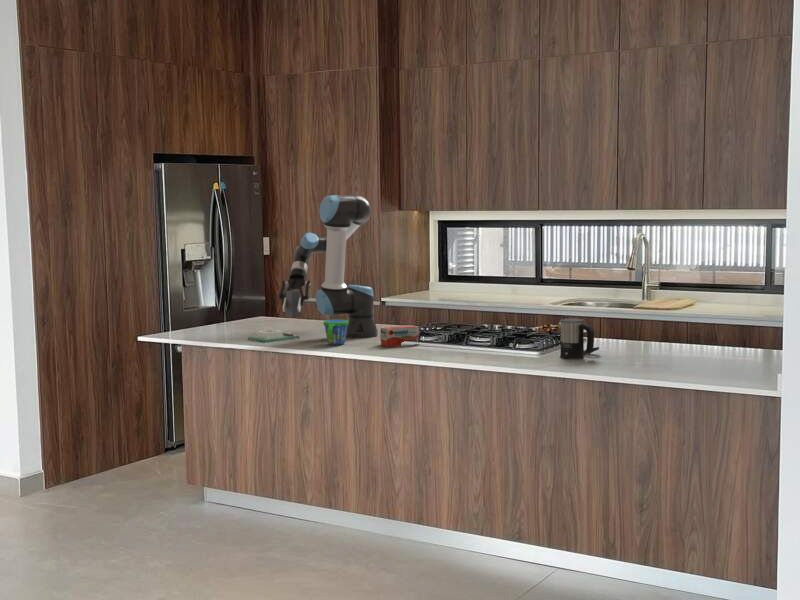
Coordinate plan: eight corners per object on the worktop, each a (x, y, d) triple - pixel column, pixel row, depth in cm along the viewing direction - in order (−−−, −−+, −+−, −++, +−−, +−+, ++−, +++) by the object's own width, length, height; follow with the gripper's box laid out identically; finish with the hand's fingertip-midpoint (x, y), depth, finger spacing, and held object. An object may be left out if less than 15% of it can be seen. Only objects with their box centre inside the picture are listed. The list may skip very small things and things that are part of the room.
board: (299, 338, 435) (298, 330, 434) (265, 342, 423) (265, 334, 422) (281, 335, 445) (280, 327, 445) (248, 339, 433) (247, 331, 433)
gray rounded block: (300, 316, 445) (299, 291, 444) (292, 317, 442) (291, 291, 441) (294, 316, 449) (293, 290, 448) (286, 317, 446) (285, 291, 445)
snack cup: (339, 347, 407) (339, 323, 406) (317, 346, 411) (316, 322, 410) (354, 342, 421) (354, 319, 420) (333, 341, 425) (332, 318, 424)
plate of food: (584, 328, 457) (584, 316, 457) (598, 336, 430) (598, 322, 429) (526, 331, 456) (525, 319, 456) (536, 339, 429) (535, 326, 428)
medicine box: (412, 342, 419) (412, 324, 418) (420, 345, 411) (419, 326, 410) (380, 345, 413) (380, 326, 412) (387, 347, 406) (386, 329, 405)
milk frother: (557, 358, 372) (557, 320, 371) (565, 352, 387) (565, 316, 385) (594, 360, 367) (594, 322, 365) (600, 354, 382) (601, 317, 380)
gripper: (319, 277, 458) (313, 315, 443) (280, 278, 460) (272, 315, 446) (317, 267, 452) (310, 305, 437) (277, 267, 455) (269, 305, 440)
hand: (291, 310), depth 442 cm, fingers closed on gray rounded block, 6 cm apart
